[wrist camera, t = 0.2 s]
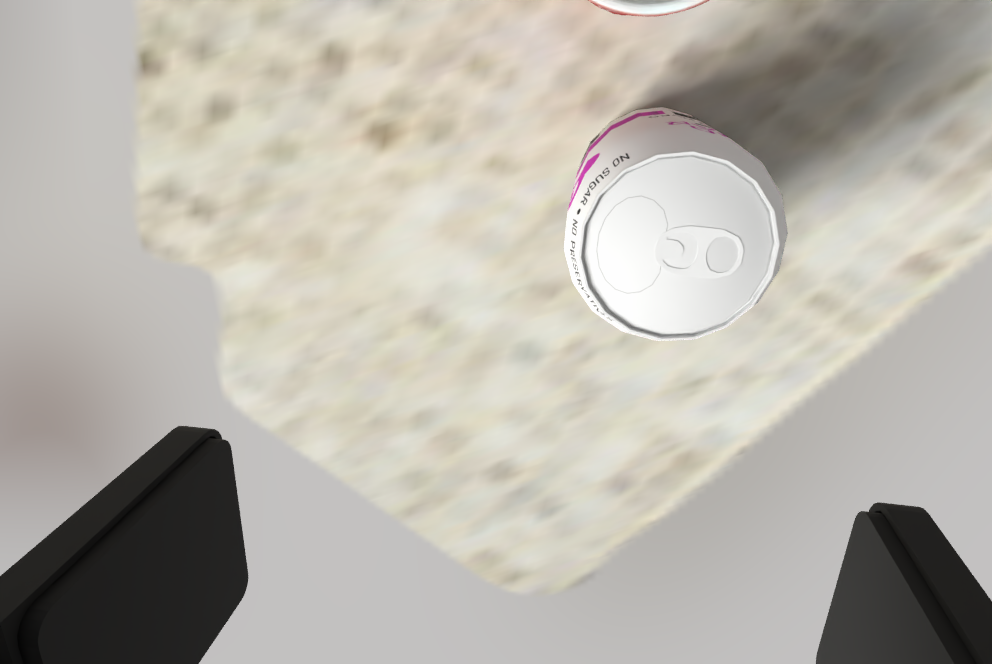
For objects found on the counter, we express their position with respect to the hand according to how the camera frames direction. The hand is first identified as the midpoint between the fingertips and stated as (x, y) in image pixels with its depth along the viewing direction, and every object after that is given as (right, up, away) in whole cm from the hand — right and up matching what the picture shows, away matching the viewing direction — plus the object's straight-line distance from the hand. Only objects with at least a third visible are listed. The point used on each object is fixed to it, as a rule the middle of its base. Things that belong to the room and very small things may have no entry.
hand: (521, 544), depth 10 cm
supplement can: (+8, +12, +28) cm, 31 cm away
